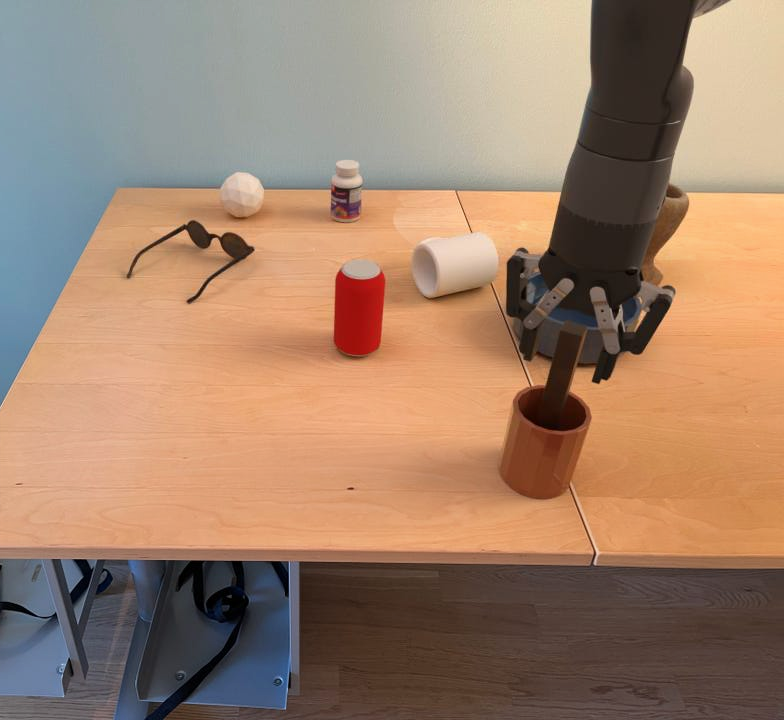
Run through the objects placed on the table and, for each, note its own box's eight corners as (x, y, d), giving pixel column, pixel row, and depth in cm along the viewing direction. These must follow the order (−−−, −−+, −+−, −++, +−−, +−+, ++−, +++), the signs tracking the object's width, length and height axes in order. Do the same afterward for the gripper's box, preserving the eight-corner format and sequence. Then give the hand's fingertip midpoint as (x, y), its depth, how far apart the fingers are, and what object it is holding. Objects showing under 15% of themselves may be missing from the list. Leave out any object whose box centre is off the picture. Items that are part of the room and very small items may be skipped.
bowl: (639, 324, 97) (652, 287, 93) (613, 382, 86) (627, 343, 83) (531, 294, 103) (539, 258, 100) (495, 344, 93) (503, 306, 89)
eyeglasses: (255, 264, 111) (254, 236, 108) (193, 306, 101) (189, 276, 98) (186, 240, 117) (183, 213, 114) (121, 277, 107) (116, 248, 104)
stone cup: (680, 284, 105) (715, 190, 96) (624, 303, 101) (655, 207, 92) (602, 243, 116) (627, 155, 107) (549, 259, 112) (570, 168, 103)
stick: (547, 466, 74) (588, 326, 63) (541, 478, 73) (582, 336, 62) (528, 459, 75) (566, 319, 64) (522, 470, 74) (560, 330, 63)
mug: (494, 294, 103) (503, 246, 98) (435, 308, 100) (442, 259, 95) (451, 258, 112) (457, 212, 107) (396, 270, 109) (400, 223, 104)
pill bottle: (324, 215, 125) (325, 163, 119) (346, 207, 128) (348, 155, 122) (344, 226, 121) (346, 172, 116) (366, 217, 124) (369, 164, 118)
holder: (578, 464, 75) (599, 400, 70) (558, 509, 70) (579, 444, 65) (511, 439, 78) (526, 376, 73) (488, 480, 73) (502, 416, 68)
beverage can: (385, 358, 91) (392, 277, 83) (339, 363, 90) (342, 283, 82) (372, 331, 95) (378, 253, 88) (328, 337, 94) (330, 258, 87)
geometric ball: (244, 223, 129) (254, 181, 128) (265, 223, 122) (277, 179, 122) (207, 210, 124) (218, 166, 124) (228, 210, 118) (239, 164, 117)
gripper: (506, 196, 56) (476, 363, 66) (700, 240, 50) (634, 417, 60) (535, 167, 61) (502, 326, 71) (715, 203, 55) (651, 372, 65)
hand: (563, 367), depth 66 cm, fingers open, 5 cm apart
